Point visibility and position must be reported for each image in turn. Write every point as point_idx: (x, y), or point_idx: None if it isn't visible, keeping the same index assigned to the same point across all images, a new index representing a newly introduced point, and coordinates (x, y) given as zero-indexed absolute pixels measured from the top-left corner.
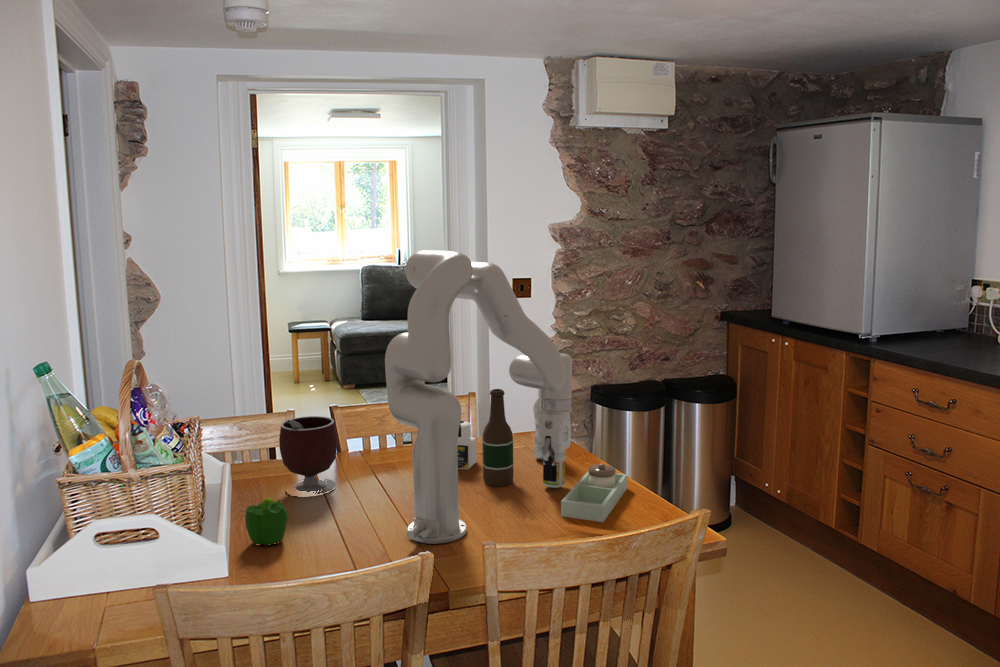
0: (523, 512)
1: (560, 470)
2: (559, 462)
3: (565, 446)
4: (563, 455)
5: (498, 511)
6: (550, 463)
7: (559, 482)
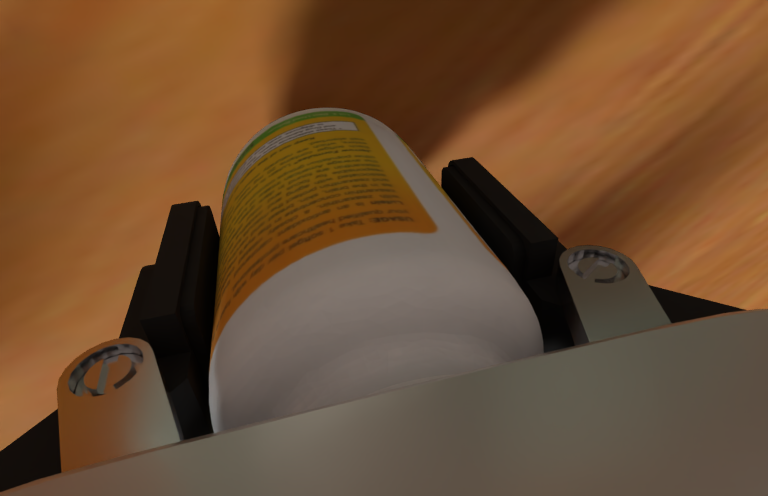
0: (687, 161)
1: (426, 186)
2: (490, 251)
3: (492, 463)
4: (362, 319)
5: (676, 264)
6: (657, 293)
7: (396, 136)
